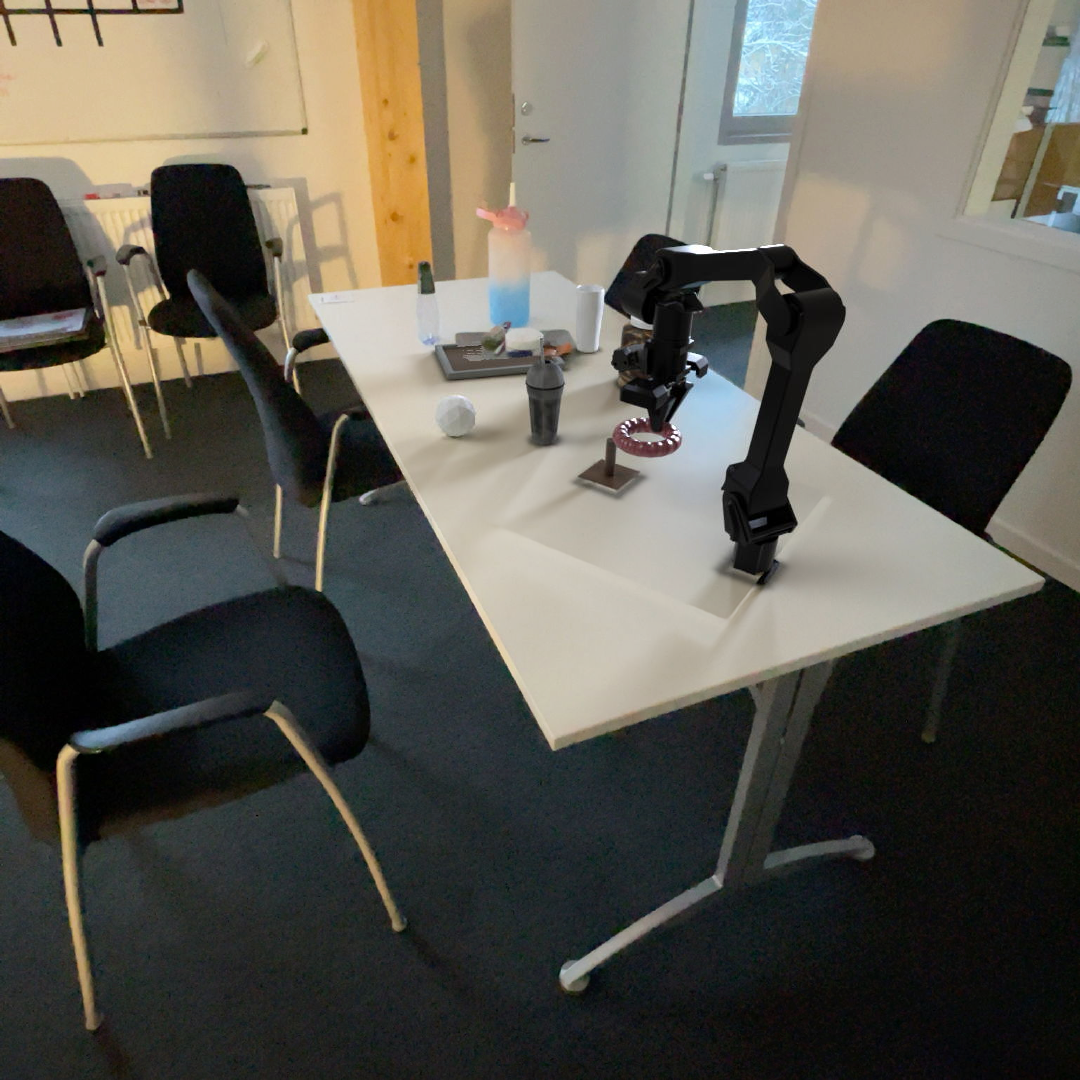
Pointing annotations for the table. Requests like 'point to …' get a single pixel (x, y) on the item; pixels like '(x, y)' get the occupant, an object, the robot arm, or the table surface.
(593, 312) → the drinking glass
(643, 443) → the ring
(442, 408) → the geometric ball
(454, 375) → the gray tray
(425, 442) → the table surface
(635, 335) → the jar
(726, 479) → the robot arm
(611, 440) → the stand
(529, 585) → the table surface
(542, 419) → the beverage cup
